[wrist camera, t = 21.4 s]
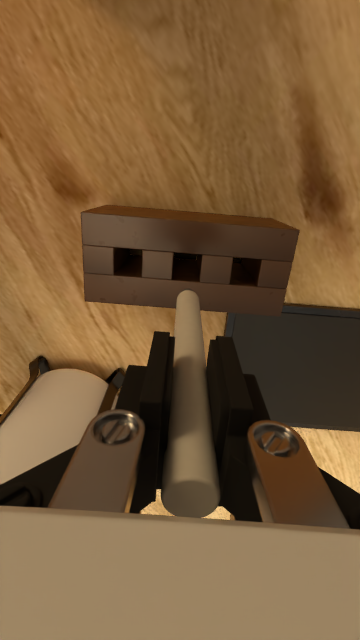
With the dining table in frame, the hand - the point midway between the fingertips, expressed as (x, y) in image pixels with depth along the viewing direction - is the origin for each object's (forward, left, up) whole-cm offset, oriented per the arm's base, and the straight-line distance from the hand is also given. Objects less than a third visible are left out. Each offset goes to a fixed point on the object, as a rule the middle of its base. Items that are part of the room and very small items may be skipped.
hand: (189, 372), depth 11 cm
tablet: (+13, +16, -23) cm, 31 cm away
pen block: (0, 0, -23) cm, 23 cm away
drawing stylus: (0, 0, -9) cm, 9 cm away
